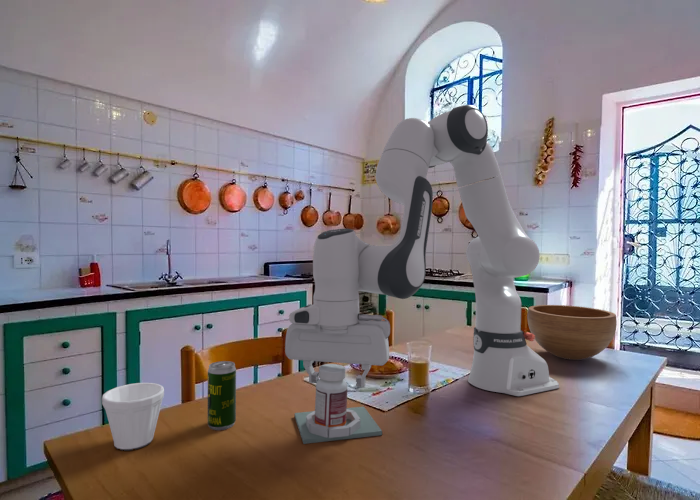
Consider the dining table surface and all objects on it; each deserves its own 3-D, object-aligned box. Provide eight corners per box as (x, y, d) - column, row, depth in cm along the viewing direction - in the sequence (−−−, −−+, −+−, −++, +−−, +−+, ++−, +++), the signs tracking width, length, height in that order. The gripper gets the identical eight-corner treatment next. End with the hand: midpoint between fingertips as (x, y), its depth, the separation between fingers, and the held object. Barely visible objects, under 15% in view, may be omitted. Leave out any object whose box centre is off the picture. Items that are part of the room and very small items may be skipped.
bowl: (515, 347, 149) (516, 304, 148) (588, 348, 148) (590, 305, 147) (545, 369, 124) (546, 317, 123) (633, 371, 123) (635, 319, 122)
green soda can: (220, 417, 88) (220, 359, 88) (241, 422, 86) (241, 363, 86) (201, 427, 83) (201, 366, 83) (223, 433, 81) (223, 370, 81)
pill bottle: (349, 421, 85) (351, 364, 85) (341, 434, 79) (344, 374, 79) (319, 416, 87) (321, 361, 86) (309, 429, 81) (312, 370, 80)
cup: (94, 460, 71) (94, 405, 70) (110, 433, 80) (110, 384, 80) (160, 452, 73) (160, 399, 73) (167, 427, 83) (167, 380, 83)
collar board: (363, 410, 93) (363, 399, 93) (382, 436, 81) (383, 424, 81) (294, 416, 89) (294, 405, 89) (303, 445, 77) (303, 432, 77)
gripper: (392, 312, 83) (392, 382, 83) (293, 308, 88) (294, 375, 88) (387, 318, 77) (387, 394, 77) (281, 314, 82) (282, 385, 82)
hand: (337, 384), depth 83 cm, fingers open, 8 cm apart
